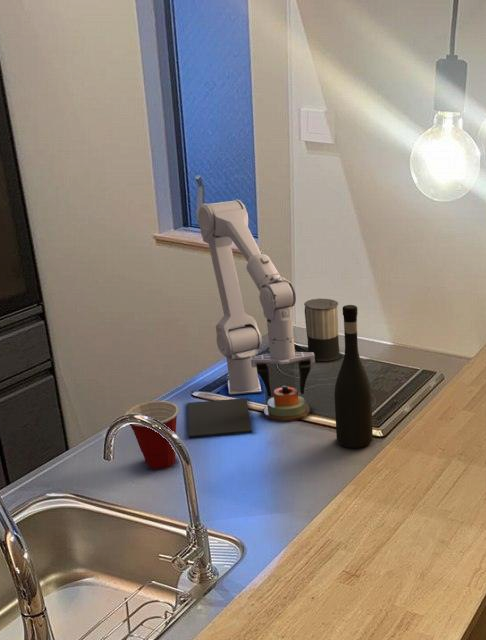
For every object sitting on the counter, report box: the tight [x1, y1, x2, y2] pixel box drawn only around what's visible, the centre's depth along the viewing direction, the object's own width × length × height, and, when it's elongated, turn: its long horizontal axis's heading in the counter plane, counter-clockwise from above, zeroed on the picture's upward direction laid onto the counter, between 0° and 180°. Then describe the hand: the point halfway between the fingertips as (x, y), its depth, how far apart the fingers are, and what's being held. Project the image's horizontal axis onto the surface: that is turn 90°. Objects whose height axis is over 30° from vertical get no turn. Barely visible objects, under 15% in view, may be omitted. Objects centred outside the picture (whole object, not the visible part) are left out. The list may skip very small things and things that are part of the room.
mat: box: [187, 397, 253, 439], centre depth 201 cm, size 20×14×1 cm
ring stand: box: [263, 384, 311, 423], centre depth 202 cm, size 11×11×7 cm
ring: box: [273, 386, 299, 406], centre depth 202 cm, size 6×6×3 cm
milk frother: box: [294, 298, 341, 362], centre depth 233 cm, size 14×16×15 cm
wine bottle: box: [333, 304, 374, 449], centre depth 182 cm, size 8×8×30 cm
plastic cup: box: [124, 400, 179, 470], centre depth 177 cm, size 11×11×12 cm
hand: (285, 393), depth 201 cm, fingers open, 7 cm apart
